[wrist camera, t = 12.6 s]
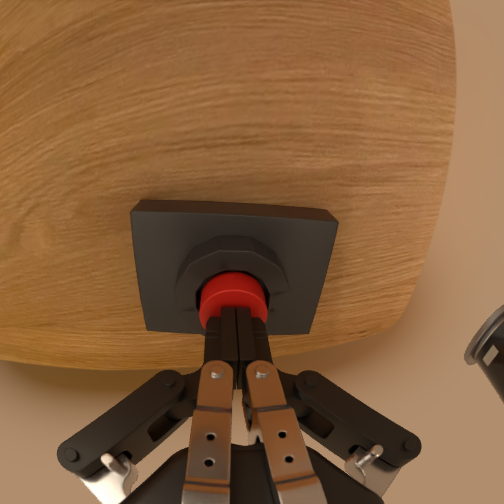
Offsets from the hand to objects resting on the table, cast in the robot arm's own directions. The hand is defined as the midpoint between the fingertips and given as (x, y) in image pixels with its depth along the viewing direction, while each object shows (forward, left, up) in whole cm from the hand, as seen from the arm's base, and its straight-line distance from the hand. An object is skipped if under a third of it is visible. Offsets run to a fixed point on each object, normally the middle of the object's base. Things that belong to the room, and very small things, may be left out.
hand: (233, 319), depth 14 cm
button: (0, 0, -2) cm, 2 cm away
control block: (0, 0, -5) cm, 5 cm away
